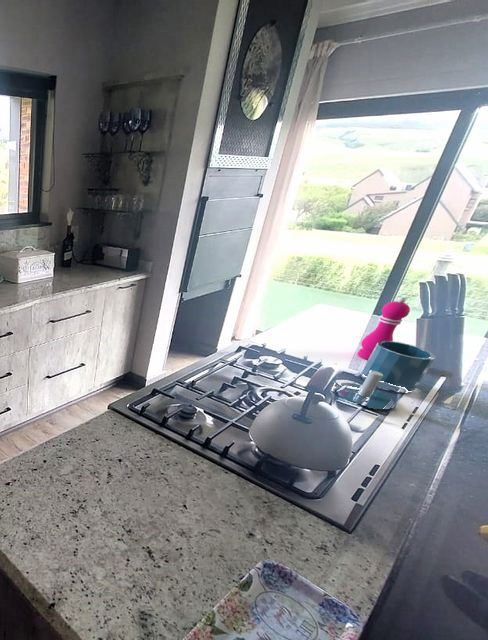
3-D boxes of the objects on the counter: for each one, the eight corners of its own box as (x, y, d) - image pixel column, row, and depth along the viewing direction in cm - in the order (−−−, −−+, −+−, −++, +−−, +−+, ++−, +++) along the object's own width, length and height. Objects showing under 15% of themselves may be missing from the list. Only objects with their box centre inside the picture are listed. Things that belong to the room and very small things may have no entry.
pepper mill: (381, 364, 125) (417, 302, 115) (352, 356, 130) (384, 296, 120) (386, 358, 129) (421, 298, 119) (358, 350, 134) (389, 292, 124)
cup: (421, 388, 112) (443, 354, 107) (400, 397, 108) (422, 362, 102) (372, 370, 121) (390, 338, 116) (351, 377, 117) (369, 344, 111)
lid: (402, 405, 104) (419, 379, 100) (377, 416, 99) (394, 389, 95) (347, 382, 113) (361, 358, 110) (322, 391, 108) (335, 366, 105)
